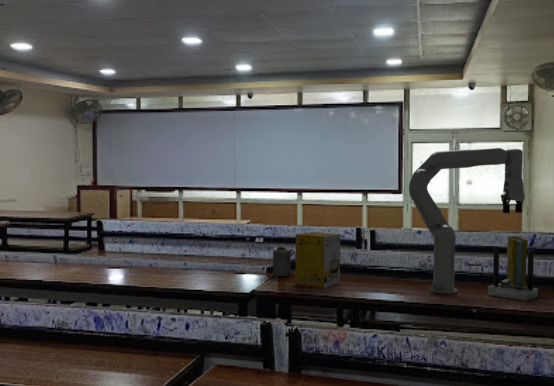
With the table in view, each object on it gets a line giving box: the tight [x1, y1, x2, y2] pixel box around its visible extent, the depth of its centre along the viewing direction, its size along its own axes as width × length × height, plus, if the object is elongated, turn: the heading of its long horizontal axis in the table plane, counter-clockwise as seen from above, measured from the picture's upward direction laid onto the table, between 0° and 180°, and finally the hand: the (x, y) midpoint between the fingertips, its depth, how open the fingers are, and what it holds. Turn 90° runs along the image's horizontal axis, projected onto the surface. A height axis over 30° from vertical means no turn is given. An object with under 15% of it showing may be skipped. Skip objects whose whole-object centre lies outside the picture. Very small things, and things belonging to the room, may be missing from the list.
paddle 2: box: [515, 282, 524, 286], centre depth 268 cm, size 4×2×2 cm, turn 134°
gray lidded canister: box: [272, 249, 292, 277], centre depth 319 cm, size 10×10×15 cm
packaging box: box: [295, 231, 341, 289], centre depth 296 cm, size 16×16×25 cm
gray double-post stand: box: [487, 245, 539, 302], centre depth 270 cm, size 12×18×22 cm, turn 44°
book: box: [506, 235, 529, 287], centre depth 286 cm, size 17×7×25 cm, turn 168°
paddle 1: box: [500, 278, 511, 286], centre depth 272 cm, size 4×2×2 cm, turn 134°
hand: (512, 212), depth 273 cm, fingers open, 9 cm apart
